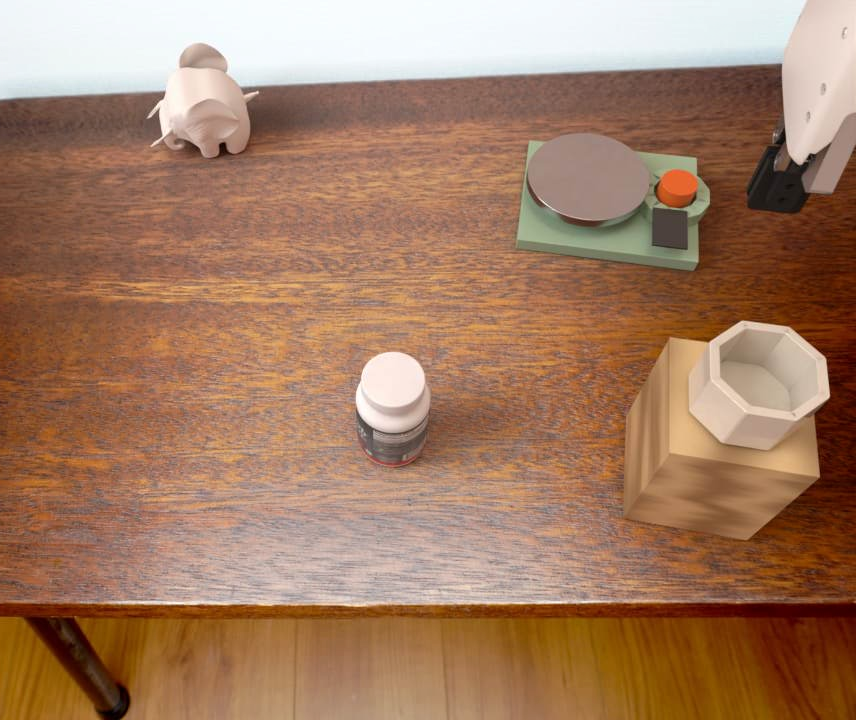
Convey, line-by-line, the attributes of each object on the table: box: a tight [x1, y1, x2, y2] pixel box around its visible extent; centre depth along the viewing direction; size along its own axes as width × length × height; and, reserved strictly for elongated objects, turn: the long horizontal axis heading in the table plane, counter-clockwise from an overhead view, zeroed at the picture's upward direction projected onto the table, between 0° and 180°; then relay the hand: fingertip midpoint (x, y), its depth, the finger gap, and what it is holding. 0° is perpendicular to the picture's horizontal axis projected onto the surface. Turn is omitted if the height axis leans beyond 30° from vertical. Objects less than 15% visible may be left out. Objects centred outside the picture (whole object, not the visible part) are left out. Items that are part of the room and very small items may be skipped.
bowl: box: [689, 320, 831, 450], centre depth 52 cm, size 7×7×4 cm
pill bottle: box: [354, 351, 432, 468], centre depth 63 cm, size 6×6×10 cm
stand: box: [622, 336, 821, 541], centre depth 59 cm, size 9×9×12 cm
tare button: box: [656, 169, 698, 208], centre depth 75 cm, size 3×3×2 cm
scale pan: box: [526, 132, 688, 250], centre depth 76 cm, size 14×12×1 cm
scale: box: [515, 139, 711, 272], centre depth 77 cm, size 17×13×3 cm
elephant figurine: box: [146, 42, 260, 159], centre depth 83 cm, size 10×12×9 cm
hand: (771, 202), depth 53 cm, fingers closed
